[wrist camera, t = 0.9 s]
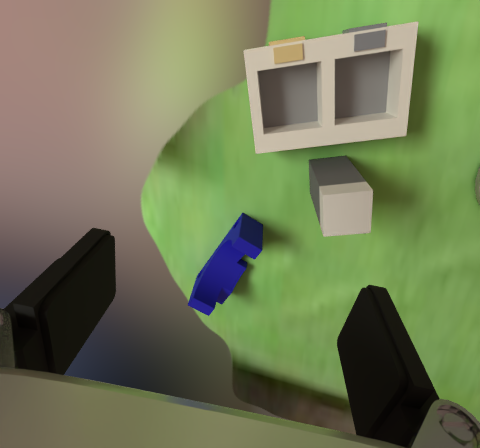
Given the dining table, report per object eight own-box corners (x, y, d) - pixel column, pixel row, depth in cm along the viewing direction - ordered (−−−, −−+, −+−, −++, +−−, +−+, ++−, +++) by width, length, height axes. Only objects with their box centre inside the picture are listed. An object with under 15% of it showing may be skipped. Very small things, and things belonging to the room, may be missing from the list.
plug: (345, 155, 34) (373, 190, 25) (345, 189, 36) (370, 232, 27) (308, 159, 35) (322, 195, 26) (310, 192, 36) (323, 236, 28)
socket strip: (399, 21, 28) (420, 16, 24) (391, 127, 32) (407, 136, 29) (245, 47, 30) (242, 46, 26) (257, 143, 34) (255, 154, 30)
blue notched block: (224, 289, 45) (218, 321, 39) (197, 275, 44) (187, 305, 39) (272, 229, 39) (273, 256, 34) (242, 211, 39) (238, 236, 33)
